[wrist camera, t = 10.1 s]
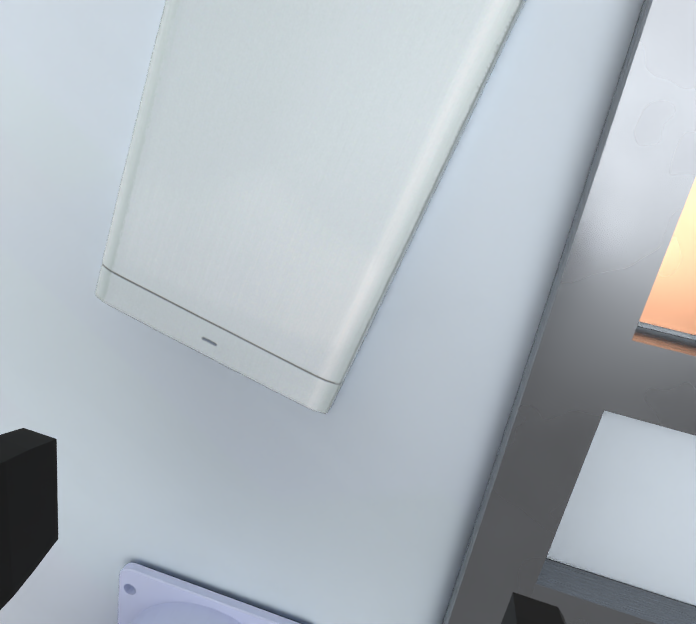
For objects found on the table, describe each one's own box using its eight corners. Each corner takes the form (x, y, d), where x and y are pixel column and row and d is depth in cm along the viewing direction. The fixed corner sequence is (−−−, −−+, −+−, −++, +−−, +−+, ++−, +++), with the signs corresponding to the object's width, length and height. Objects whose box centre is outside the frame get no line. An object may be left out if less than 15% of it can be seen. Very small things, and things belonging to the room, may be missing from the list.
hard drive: (198, -171, 14) (86, 298, 19) (535, -24, 13) (323, 421, 18) (230, -145, 15) (118, 282, 20) (533, -12, 14) (338, 396, 19)
